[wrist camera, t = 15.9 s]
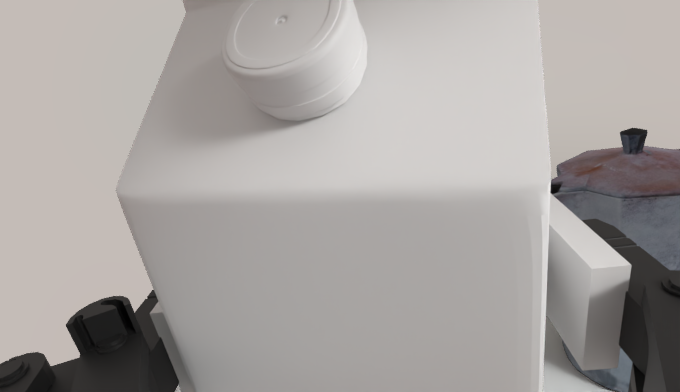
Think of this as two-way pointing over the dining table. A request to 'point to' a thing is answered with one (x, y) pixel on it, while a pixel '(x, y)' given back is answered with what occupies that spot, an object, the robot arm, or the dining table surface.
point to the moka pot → (626, 209)
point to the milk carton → (349, 195)
